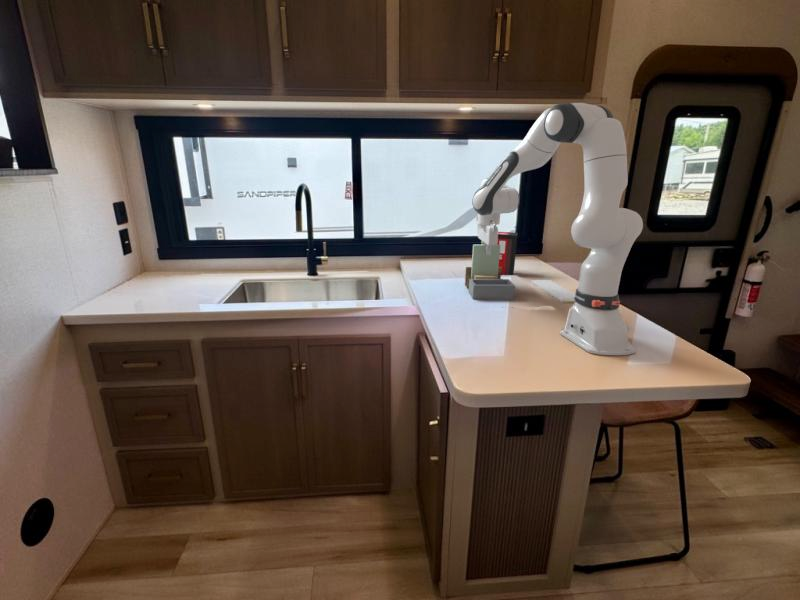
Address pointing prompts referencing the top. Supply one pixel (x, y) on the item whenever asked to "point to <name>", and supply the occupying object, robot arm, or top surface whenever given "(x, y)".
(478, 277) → the offcut upper
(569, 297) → the baseboard molding
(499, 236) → the cleaning product box
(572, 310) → the robot arm
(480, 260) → the sheet
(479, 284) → the bin
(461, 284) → the top surface
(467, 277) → the rack
